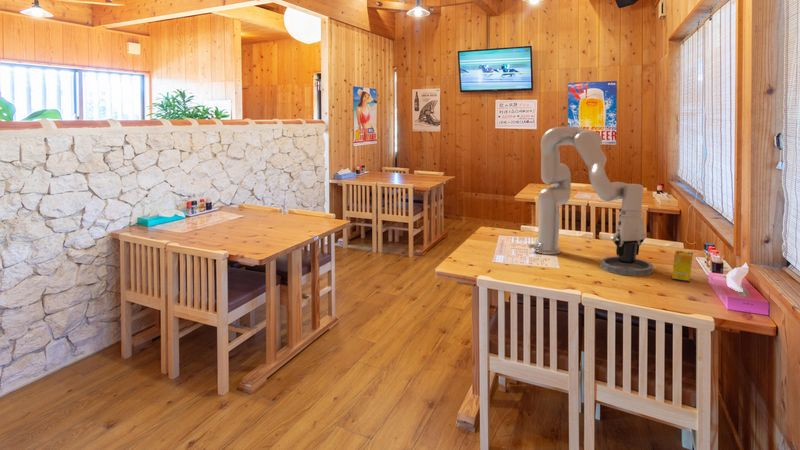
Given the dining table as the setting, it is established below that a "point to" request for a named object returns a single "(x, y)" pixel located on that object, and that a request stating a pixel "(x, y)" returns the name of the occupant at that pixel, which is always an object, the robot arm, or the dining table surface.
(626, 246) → the supplement bottle
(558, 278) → the dining table surface
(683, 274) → the supplement box
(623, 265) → the round tray
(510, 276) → the dining table surface
